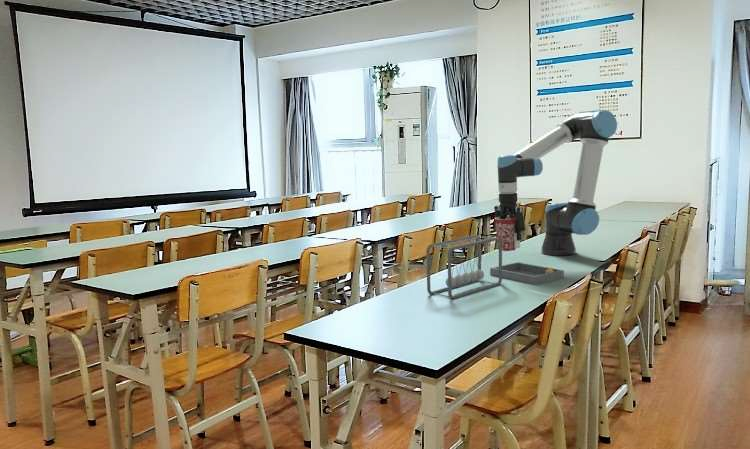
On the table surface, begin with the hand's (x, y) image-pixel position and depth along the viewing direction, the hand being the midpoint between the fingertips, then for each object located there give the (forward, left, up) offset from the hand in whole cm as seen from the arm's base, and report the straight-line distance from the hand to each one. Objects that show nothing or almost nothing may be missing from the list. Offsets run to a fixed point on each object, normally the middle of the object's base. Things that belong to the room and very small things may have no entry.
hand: (509, 246), depth 248 cm
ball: (+8, +27, -7) cm, 29 cm away
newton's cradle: (+42, +18, -8) cm, 47 cm away
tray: (+13, +20, -8) cm, 25 cm away
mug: (0, 0, -1) cm, 1 cm away
